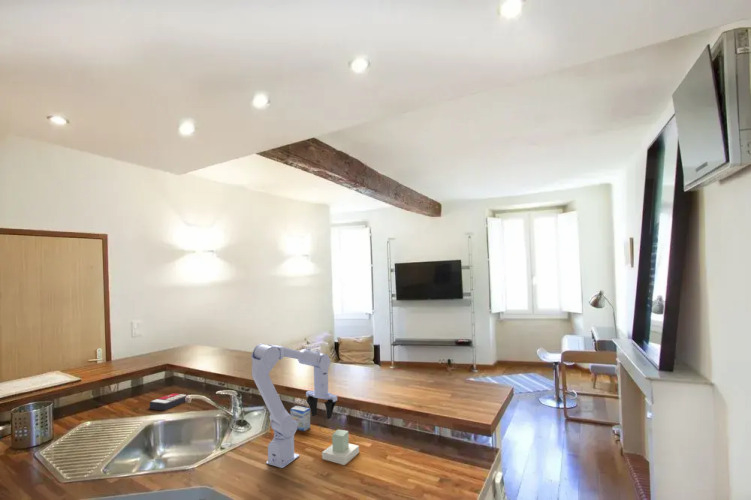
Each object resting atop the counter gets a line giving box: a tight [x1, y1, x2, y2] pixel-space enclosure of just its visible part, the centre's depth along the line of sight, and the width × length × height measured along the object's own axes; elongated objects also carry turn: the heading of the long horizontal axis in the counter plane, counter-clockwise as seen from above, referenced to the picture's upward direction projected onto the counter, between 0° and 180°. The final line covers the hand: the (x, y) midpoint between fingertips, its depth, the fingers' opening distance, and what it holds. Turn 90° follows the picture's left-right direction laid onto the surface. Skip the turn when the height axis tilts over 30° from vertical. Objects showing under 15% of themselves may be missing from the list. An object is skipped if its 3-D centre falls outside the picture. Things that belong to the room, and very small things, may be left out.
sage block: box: [331, 428, 350, 453], centre depth 138 cm, size 4×4×6 cm
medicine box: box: [290, 405, 311, 432], centre depth 163 cm, size 8×4×9 cm, turn 62°
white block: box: [321, 442, 360, 466], centre depth 138 cm, size 10×10×3 cm
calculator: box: [149, 392, 188, 411], centre depth 198 cm, size 11×4×15 cm
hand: (321, 416), depth 149 cm, fingers open, 7 cm apart
